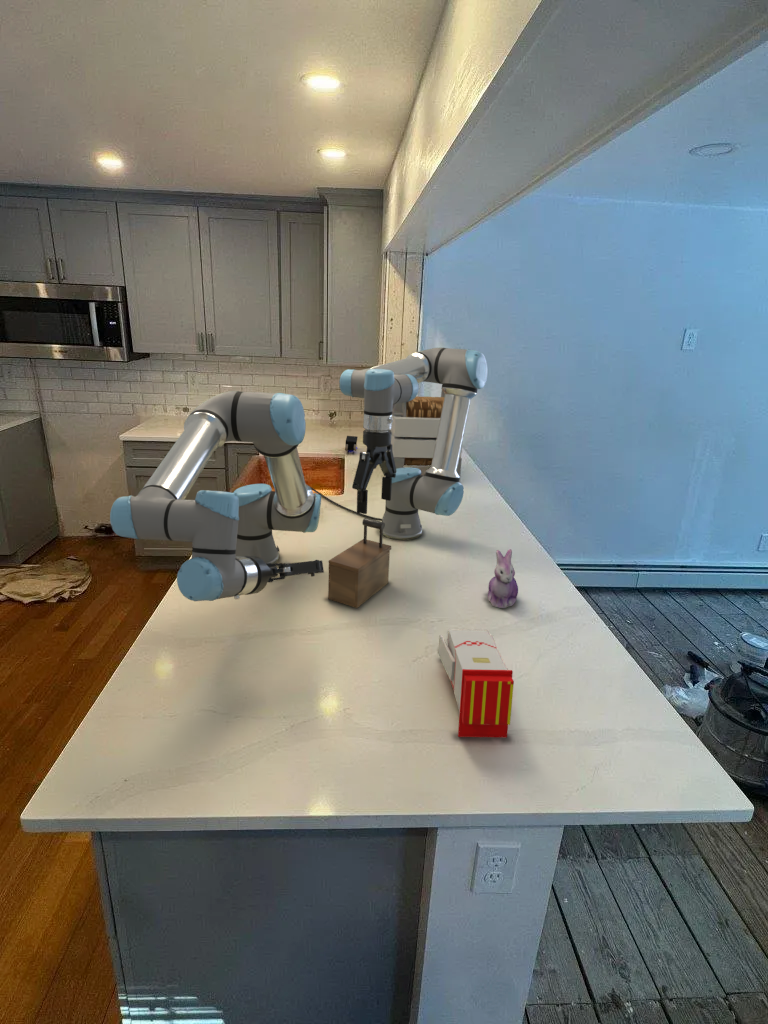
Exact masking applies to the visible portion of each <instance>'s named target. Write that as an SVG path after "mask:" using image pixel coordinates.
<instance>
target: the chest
mask: <svg viewBox="0 0 768 1024" xmlns="http://www.w3.org/2000/svg"><path fill="white" fill-rule="evenodd" d="M390 554H391V550H390V551H388V552H387V553H385V554H384V555H382V556H381V557H380V558H378V559H377V560H375V561H374V562H373V563H371V564H370V565H368V566H367V567H366V568H364V569H363V570H361V571H360V572H359V573H357V572H354V571H350V570H347V569H343V568H340V567H336V566H333V565H329V564H328V584H327V585H328V586H327V587H328V591H327V595H328V596H327V600H330V601H333V602H336V603H339V604H342V605H346V606H348V607H352V608H355V609H358V608H360V607H361V606H362V605H363V604H364V603H366V602H367V601H368V600H370V599H371V598H372V597H373V596H374V595H376V594H377V593H378V592H379V591H381V590H382V589H383V588H384V587H386V586H387V585H388V584H389V574H390V556H391V555H390Z"/></svg>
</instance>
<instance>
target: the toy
mask: <svg viewBox="0 0 768 1024" xmlns="http://www.w3.org/2000/svg"><path fill="white" fill-rule="evenodd" d="M446 640H447V643H446V641H445V639H444V636H443V635H442V634H439V637H438V646H437V656H438V657H439V659H440V661H441V663H442V666H443V668H444V670H445V672H446V674H447V677H448V679H449V681H450V684H451V687H452V690H453V693H454V697H455V701H456V705H457V708H458V711H459V714H458V715H459V716H458V730H457V731H458V732H457V737H458V738H508V731H509V726H510V725H511V717H512V707H513V697H514V696H513V695H514V684H515V680H514V679H513V673H514V671H513V670H512V669H508V667H507V665H506V662H505V661H504V659H503V658H502V655H501V653H500V651H499V649H498V647H497V643H496V639H495V637H494V635H493V634H491V632H490V631H489V629H467V628H466V629H465V628H463V629H461V628H460V629H459V628H448V630H447V639H446Z"/></svg>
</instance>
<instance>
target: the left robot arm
mask: <svg viewBox="0 0 768 1024" xmlns="http://www.w3.org/2000/svg"><path fill="white" fill-rule="evenodd" d="M305 417H306V414H305V409H304V406H303V403H302V402H301V400H300V398H299V397H297V396H296V395H294V394H289V393H283V392H260V391H259V392H258V391H257V392H256V391H239V390H231V391H230V390H229V391H224V392H222V393H218V394H216V395H214V396H211V397H209V398H208V399H206V400H205V401H203V402H201V404H199V405H198V406H196V407H195V408H194V409H193V410H192V411H191V412H190V413H189V415H188V416H187V417H186V418H185V420H184V424H183V431H182V433H181V434H180V435H179V437H178V438H177V440H176V441H175V442H174V444H173V445H172V447H171V448H170V449H169V451H168V452H167V454H166V455H165V457H164V458H163V459H162V461H161V462H160V464H159V465H158V466H157V468H156V469H155V470H154V471H153V472H152V475H151V476H150V477H149V478H148V480H147V481H146V483H145V484H144V486H143V487H142V488H141V489H140V491H139V492H138V493H137V495H136V496H134V495H132V494H131V495H128V496H125V495H123V496H120V497H118V498H116V499H115V500H114V501H113V503H112V506H111V508H110V513H109V522H110V526H111V529H112V531H113V532H114V534H116V535H117V536H119V537H123V538H129V539H135V540H151V541H171V542H185V543H192V545H191V546H192V548H191V558H190V559H189V558H188V559H187V560H185V562H183V563H182V564H181V566H180V567H179V570H178V571H177V574H176V584H177V587H178V591H179V592H180V593H181V595H182V596H183V597H184V598H185V599H187V600H189V601H193V602H206V601H208V602H211V601H212V602H214V601H216V600H222V599H226V598H233V597H234V600H240V596H247V595H255V594H259V593H261V592H262V591H263V590H264V589H266V587H267V585H268V584H269V583H273V582H274V581H281V580H285V579H286V577H292V576H299V575H310V577H311V578H312V577H315V576H316V574H322V573H323V574H324V573H325V570H324V563H323V562H324V561H323V560H319V559H314V560H307V561H300V562H299V561H298V562H291V563H285V562H284V563H283V562H278V561H279V558H280V548H279V546H278V545H276V542H275V541H276V540H274V539H275V538H274V536H273V531H281V532H296V533H297V532H298V533H303V534H306V533H315V532H316V531H317V530H318V526H319V521H320V515H321V507H322V496H321V495H320V494H318V493H316V492H314V491H313V490H311V488H310V487H311V486H310V485H308V484H307V483H306V480H305V475H304V472H303V467H302V462H301V458H300V455H299V450H298V447H299V445H300V444H302V443H303V441H304V440H305V435H306V429H307V428H306V418H305ZM226 442H227V443H228V442H239V443H252V444H253V446H254V449H255V451H256V452H257V453H258V454H260V455H261V456H263V458H264V460H265V464H266V467H267V471H268V473H269V476H270V479H271V483H272V485H273V489H274V490H273V489H272V487H271V485H270V484H267V483H252V484H246V485H242V486H240V487H238V488H236V489H235V490H234V491H233V492H232V491H231V492H230V491H223V490H210V489H209V490H204V489H201V490H198V491H197V492H196V495H195V498H194V499H186V498H187V496H189V493H190V492H191V490H192V489H193V486H194V485H195V483H196V482H197V480H198V478H199V477H200V475H201V473H202V472H203V470H204V468H205V467H206V466H207V463H208V462H209V460H210V459H211V457H212V456H213V454H214V452H215V451H216V450H219V449H220V448H222V447H223V446H224V445H225V443H226ZM306 484H307V485H308V486H307V485H306ZM309 486H310V487H309ZM277 562H278V563H277Z"/></svg>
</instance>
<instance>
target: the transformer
mask: <svg viewBox="0 0 768 1024" xmlns="http://www.w3.org/2000/svg"><path fill="white" fill-rule="evenodd" d="M440 393H441V394H440V396H418V395H417V396H416V397H415V398H414V399H413V400H411V401H408V402H406V403H399V404H394V405H393V409H392V420H393V422H392V428H391V429H390V431H391V444H392V452H393V456H394V461H395V466H396V469H398V468H405V466H406V467H407V466H411V467H412V466H413V467H415V466H416V467H417V466H418V467H431V464H432V459H433V454H434V449H435V444H436V438H437V433H438V428H439V423H440V418H441V413H442V408H443V402H444V397H445V394H444V392H443V390H442V389H441V392H440ZM463 442H464V440H463V441H462V444H463ZM462 453H463V445H462V446H461V451H460V456H459V461H458V466H457V473H458V475H459V476H460V477H461V472H462V461H463V460H462ZM391 469H392V468H391ZM459 483H461V479H460V480H459Z"/></svg>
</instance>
